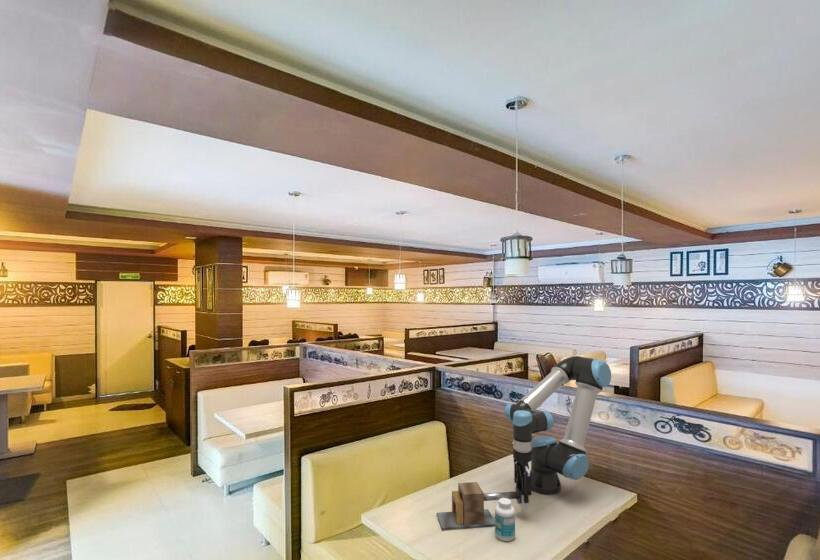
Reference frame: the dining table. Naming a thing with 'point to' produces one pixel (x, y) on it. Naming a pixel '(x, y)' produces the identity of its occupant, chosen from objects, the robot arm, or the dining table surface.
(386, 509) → the dining table surface
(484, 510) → the bearing block
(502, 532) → the pill bottle
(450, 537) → the dining table surface
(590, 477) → the dining table surface
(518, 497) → the shaft
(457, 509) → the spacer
